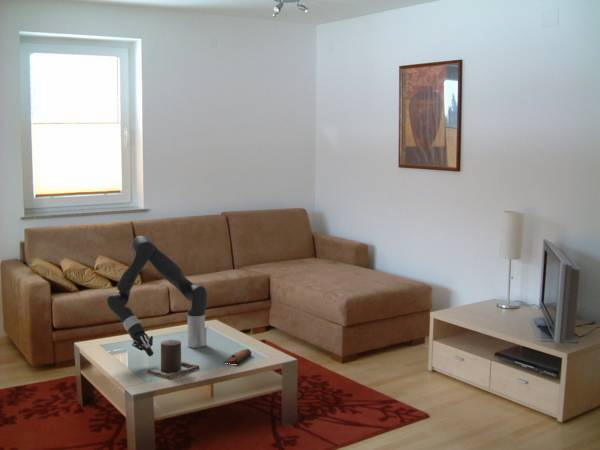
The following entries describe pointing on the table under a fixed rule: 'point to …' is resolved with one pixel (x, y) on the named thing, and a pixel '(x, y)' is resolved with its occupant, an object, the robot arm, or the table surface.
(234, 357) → the sunglasses case
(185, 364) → the wooden u-shaped frame
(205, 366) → the table surface
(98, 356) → the table surface
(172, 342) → the pillar candle
